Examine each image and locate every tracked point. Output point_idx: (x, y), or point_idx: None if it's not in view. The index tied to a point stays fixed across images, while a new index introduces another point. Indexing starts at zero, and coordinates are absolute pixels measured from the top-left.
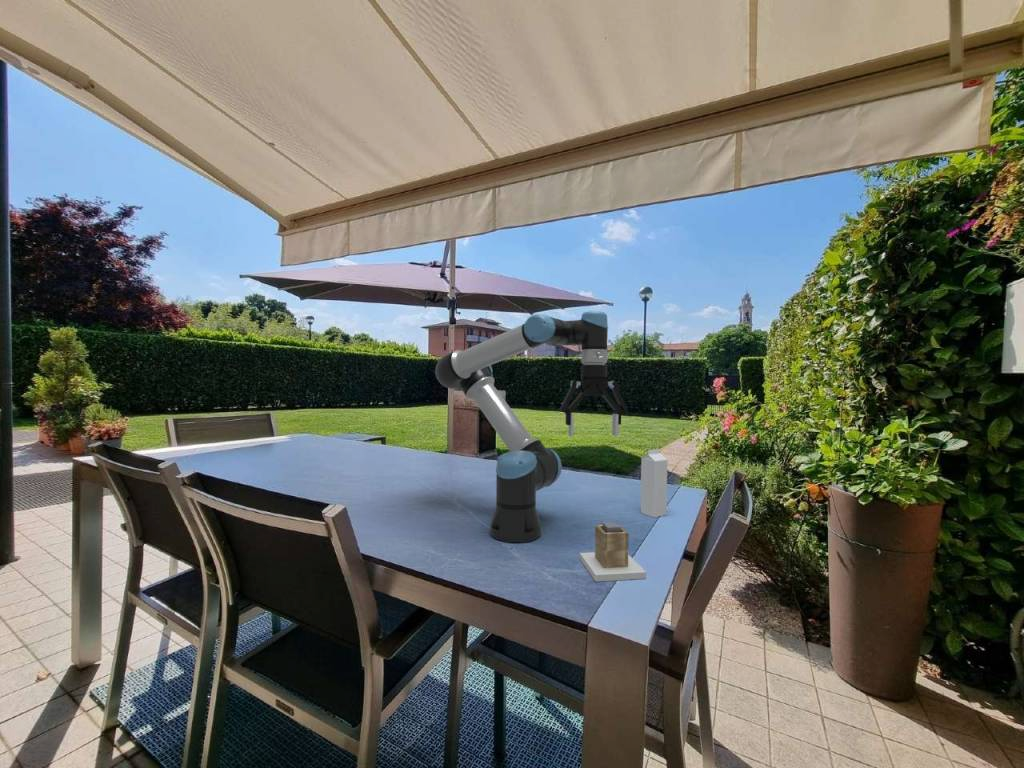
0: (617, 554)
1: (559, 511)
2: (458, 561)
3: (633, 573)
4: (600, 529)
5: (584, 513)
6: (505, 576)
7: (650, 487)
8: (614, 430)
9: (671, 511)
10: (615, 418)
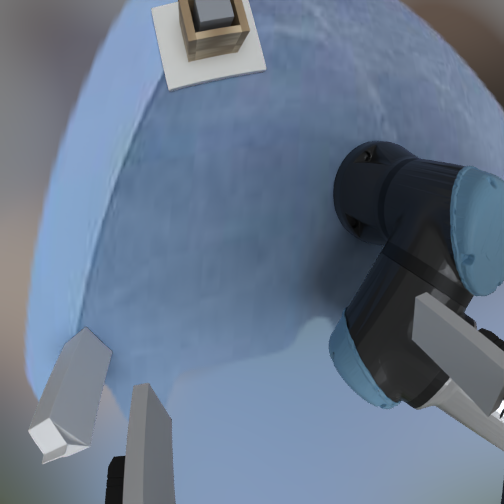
0: None
1: (285, 331)
2: (438, 79)
3: (175, 2)
4: (241, 7)
5: (232, 330)
6: (378, 23)
7: (78, 375)
8: (156, 423)
9: None
10: (148, 490)
